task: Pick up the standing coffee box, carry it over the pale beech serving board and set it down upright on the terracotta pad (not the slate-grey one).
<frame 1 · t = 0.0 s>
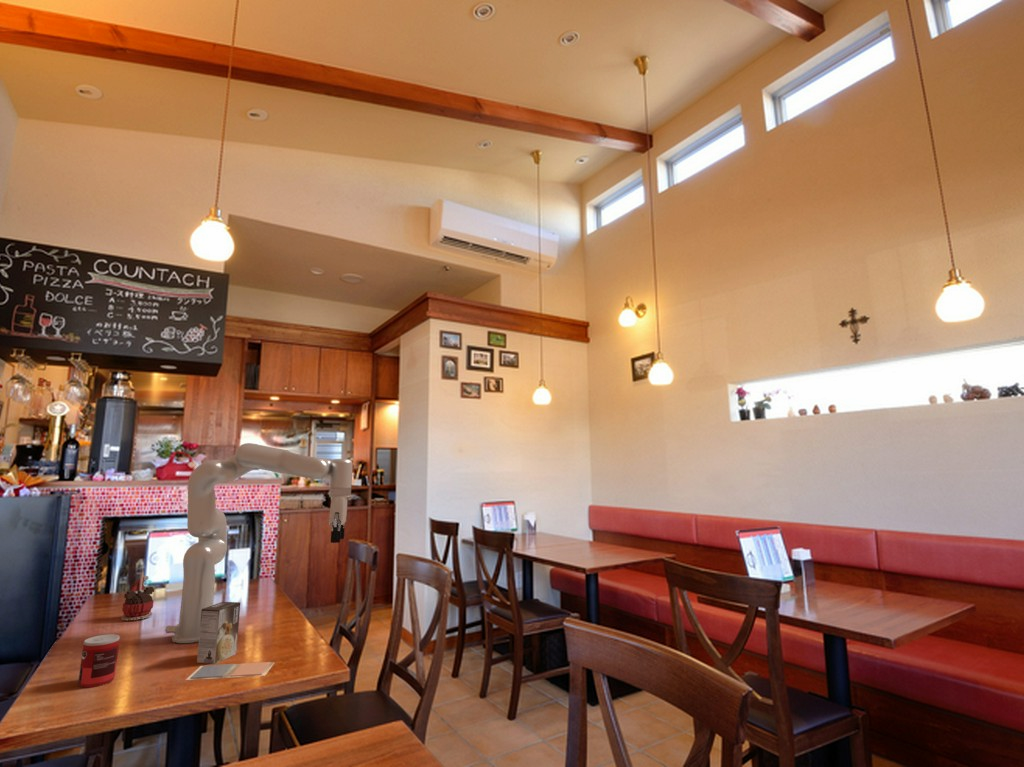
hand: (337, 540, 189), 31 cm above the table, tool pointing down, fingers open, 9 cm apart
coffee box: (216, 662, 154), on the table
serving board: (231, 675, 145), on the table
terracotta pad: (251, 669, 146), resting on serving board
cake: (136, 619, 198), on the table
slate pad: (212, 671, 144), resting on serving board
canned food: (96, 682, 139), on the table
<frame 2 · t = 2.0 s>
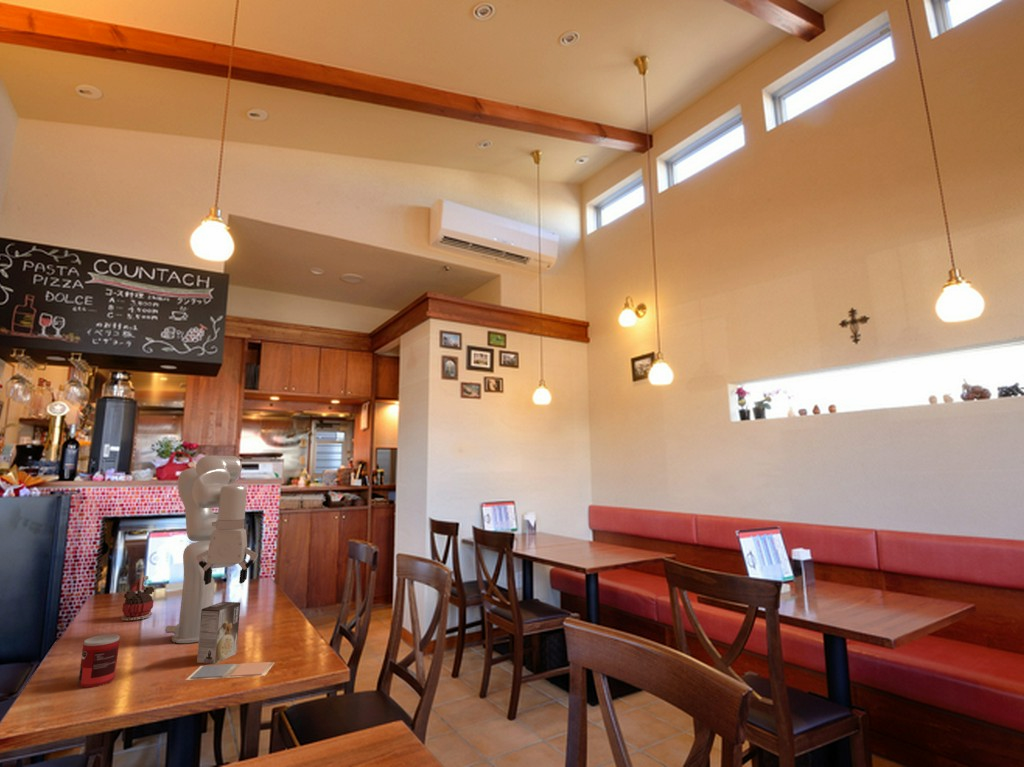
hand: (225, 583, 158), 22 cm above the table, tool pointing down, fingers open, 9 cm apart
nothing on the table moved.
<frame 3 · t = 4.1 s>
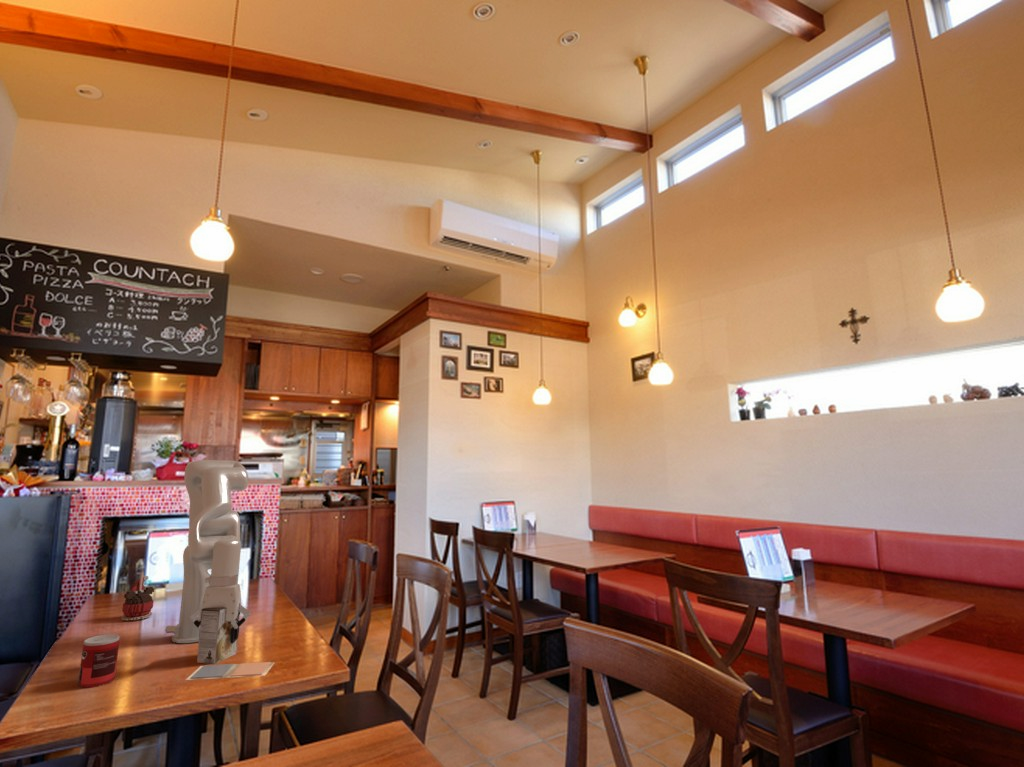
hand: (218, 642, 155), 6 cm above the table, tool pointing down, fingers closed on coffee box, 7 cm apart
coffee box: (216, 662, 154), on the table, touching gripper
everything else where it was.
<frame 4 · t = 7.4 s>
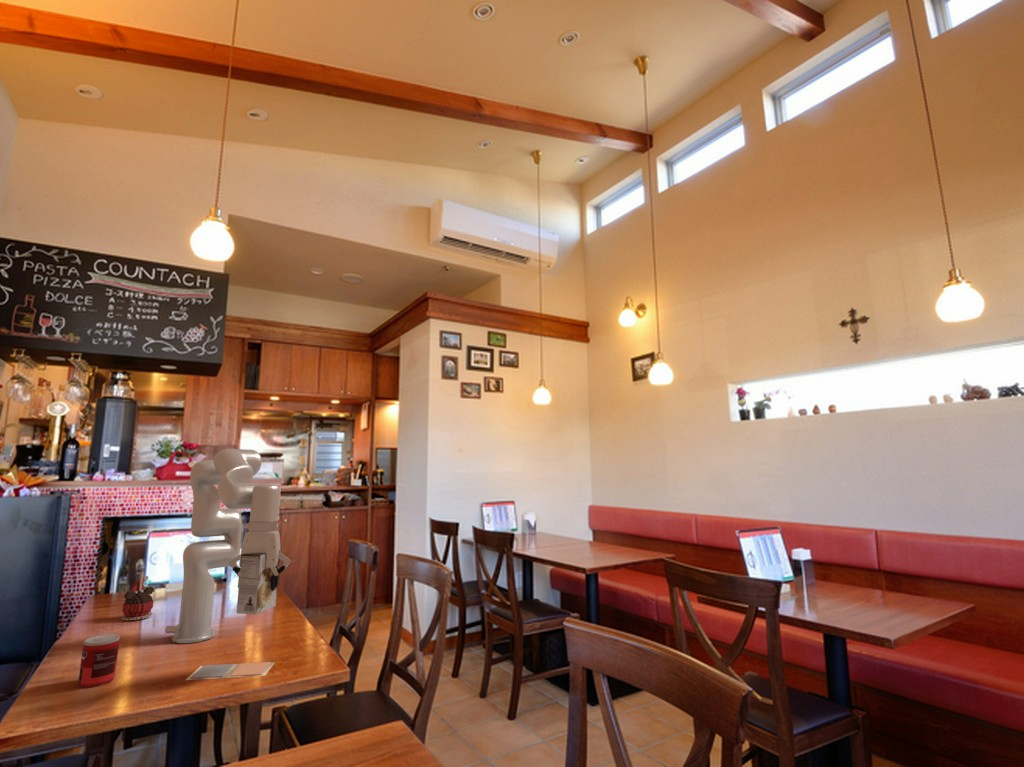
hand: (258, 589, 149), 23 cm above the table, tool pointing down, fingers closed on coffee box, 7 cm apart
coffee box: (256, 610, 148), point 17 cm above the table, touching gripper
everything else where it was.
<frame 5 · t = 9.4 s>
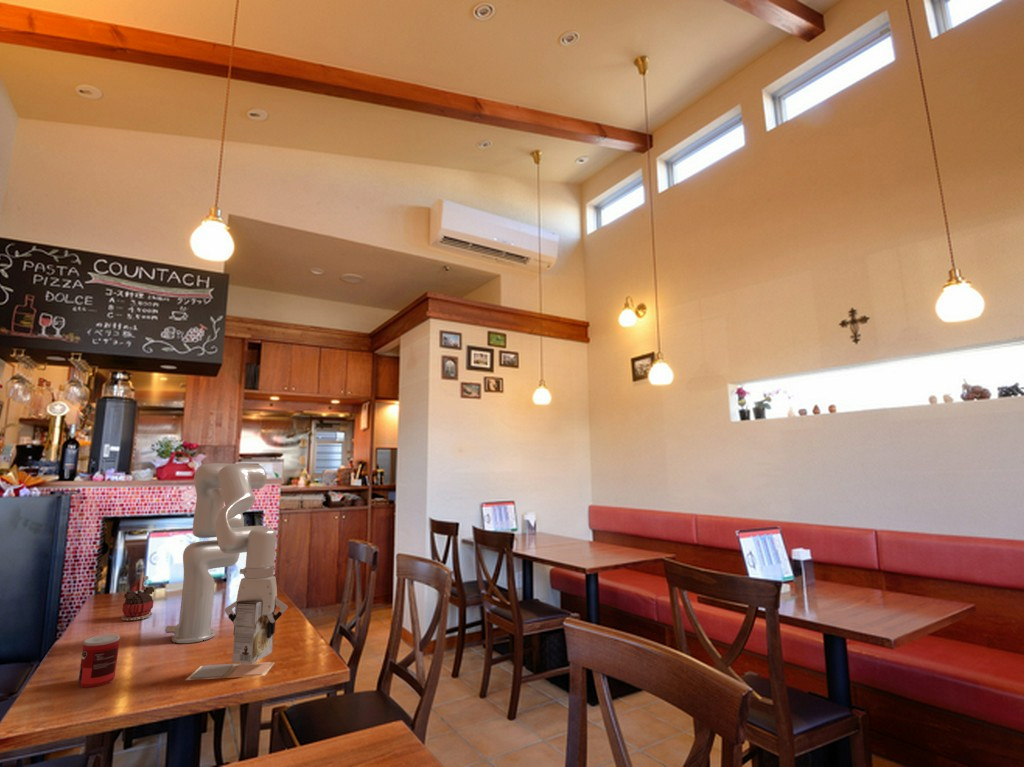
hand: (254, 637, 147), 10 cm above the table, tool pointing down, fingers closed on coffee box, 7 cm apart
coffee box: (252, 658, 146), point 4 cm above the table, touching gripper
everything else where it was.
when the fingers open (8 cm above the table, at t = 10.8 s): coffee box drops 1 cm, resting on terracotta pad.
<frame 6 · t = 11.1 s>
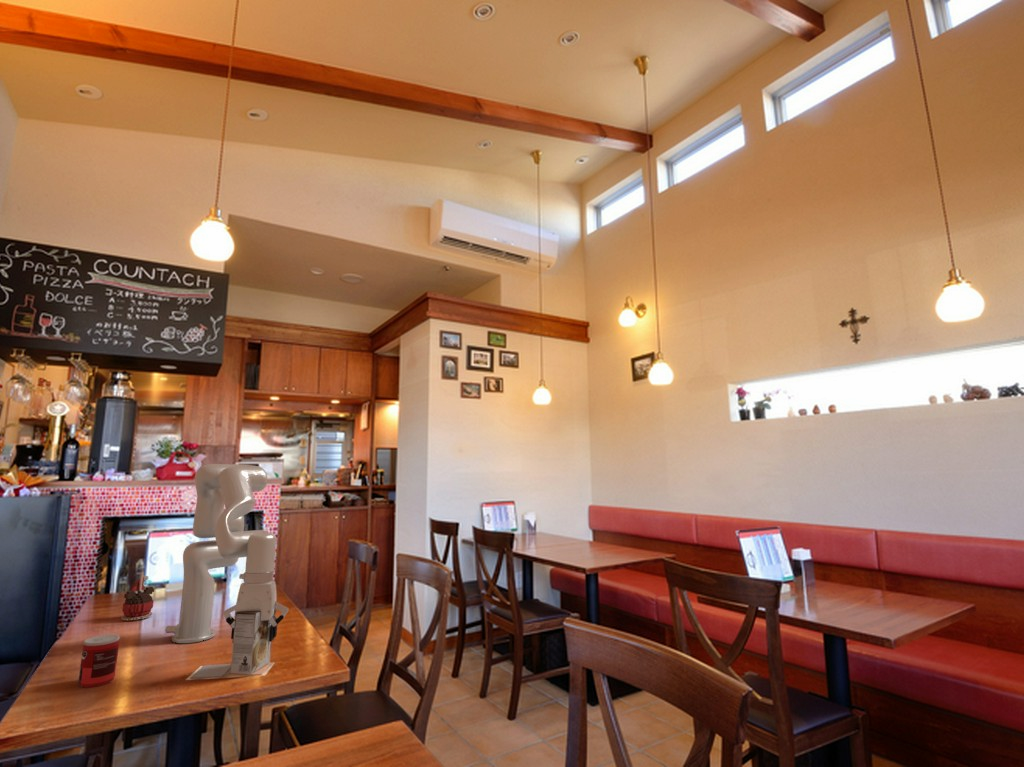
hand: (253, 640, 147), 9 cm above the table, tool pointing down, fingers open, 9 cm apart
coffee box: (250, 668, 146), point 1 cm above the table, touching terracotta pad
everything else where it was.
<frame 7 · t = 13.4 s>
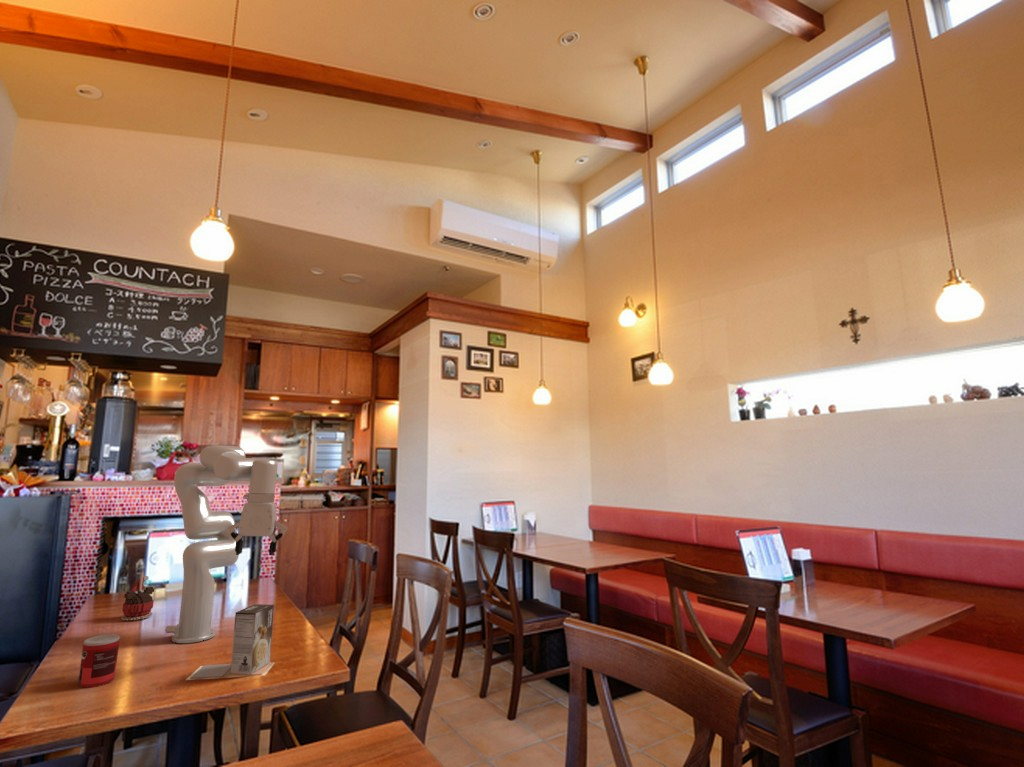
hand: (255, 554, 162), 30 cm above the table, tool pointing down, fingers open, 9 cm apart
nothing on the table moved.
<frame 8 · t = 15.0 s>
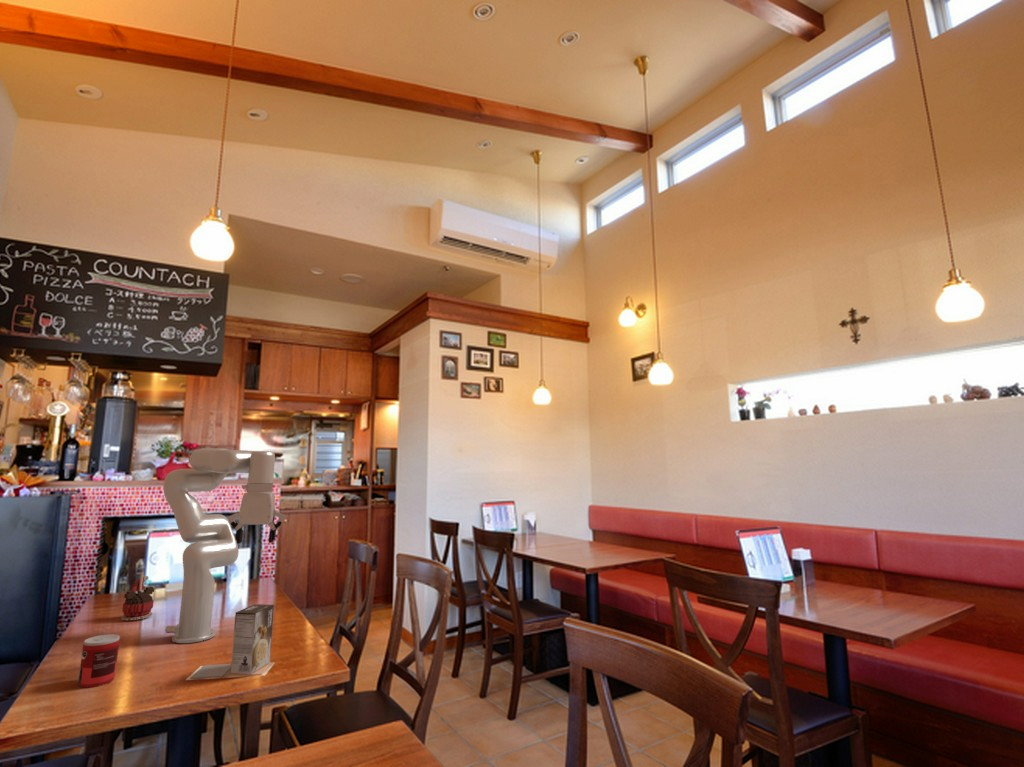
hand: (255, 542, 168), 33 cm above the table, tool pointing down, fingers open, 9 cm apart
nothing on the table moved.
at the end: coffee box 0.4 cm from the terracotta pad (horizontally); coffee box tilted 0°; the gripper is holding nothing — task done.
